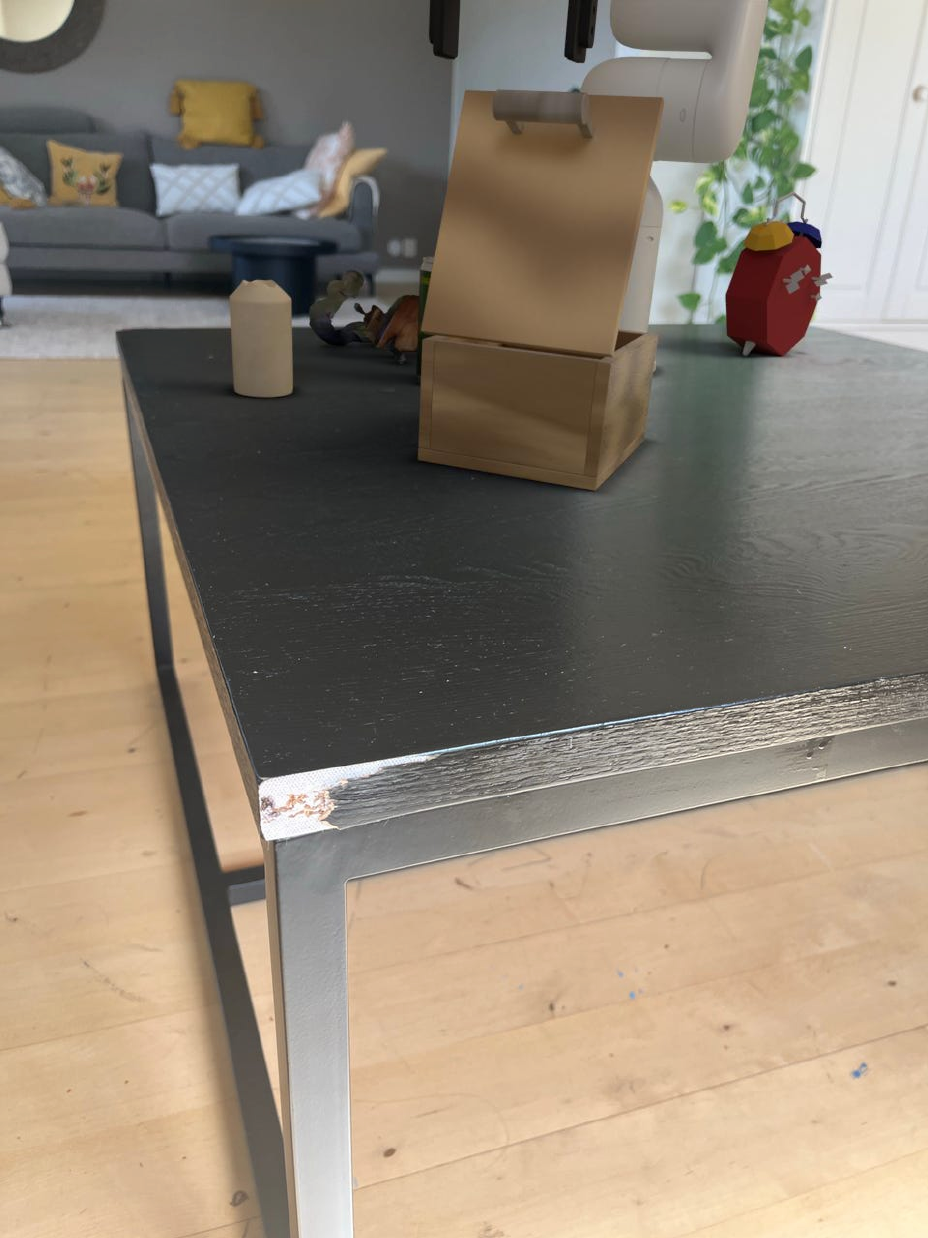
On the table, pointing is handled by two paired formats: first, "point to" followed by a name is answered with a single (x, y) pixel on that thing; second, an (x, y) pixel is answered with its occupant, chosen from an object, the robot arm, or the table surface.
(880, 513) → the table surface
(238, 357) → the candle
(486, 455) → the chest
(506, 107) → the lid
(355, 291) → the figurine
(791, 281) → the alarm clock
